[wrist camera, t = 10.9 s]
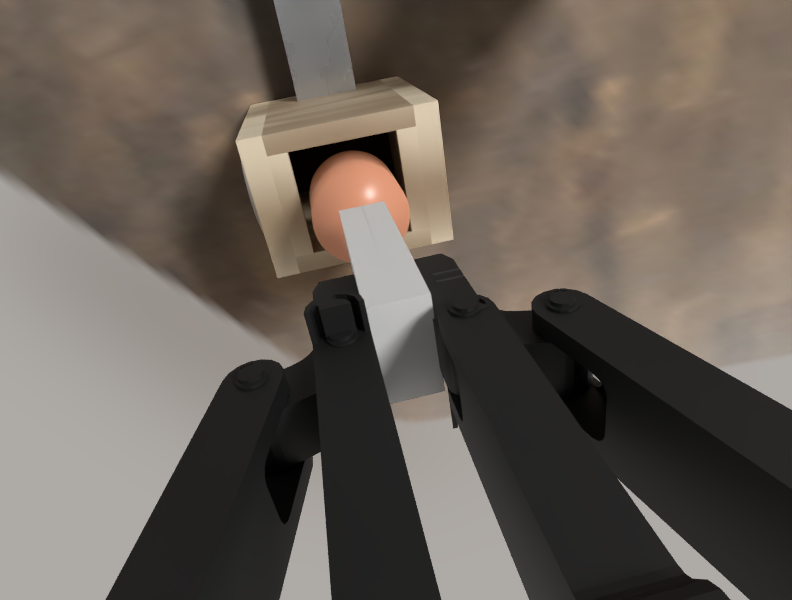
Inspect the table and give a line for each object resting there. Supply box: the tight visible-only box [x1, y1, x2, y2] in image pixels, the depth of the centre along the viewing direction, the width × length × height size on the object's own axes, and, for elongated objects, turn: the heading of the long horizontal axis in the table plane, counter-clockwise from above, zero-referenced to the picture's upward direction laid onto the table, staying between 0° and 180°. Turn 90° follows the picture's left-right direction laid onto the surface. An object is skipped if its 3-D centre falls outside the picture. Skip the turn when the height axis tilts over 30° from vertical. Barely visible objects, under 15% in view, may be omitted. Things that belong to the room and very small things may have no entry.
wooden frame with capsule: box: [236, 76, 453, 278], centre depth 26 cm, size 6×8×9 cm
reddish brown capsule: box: [310, 150, 410, 262], centre depth 21 cm, size 4×4×3 cm
